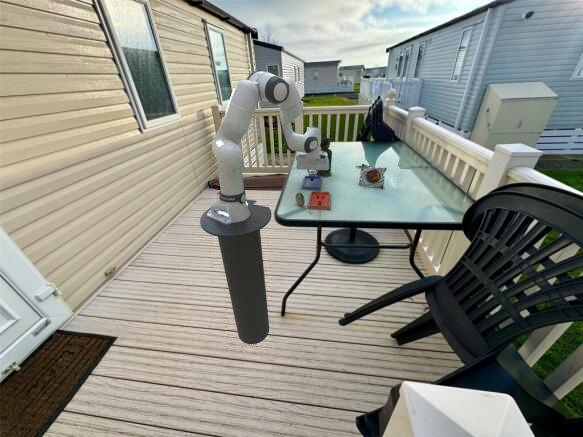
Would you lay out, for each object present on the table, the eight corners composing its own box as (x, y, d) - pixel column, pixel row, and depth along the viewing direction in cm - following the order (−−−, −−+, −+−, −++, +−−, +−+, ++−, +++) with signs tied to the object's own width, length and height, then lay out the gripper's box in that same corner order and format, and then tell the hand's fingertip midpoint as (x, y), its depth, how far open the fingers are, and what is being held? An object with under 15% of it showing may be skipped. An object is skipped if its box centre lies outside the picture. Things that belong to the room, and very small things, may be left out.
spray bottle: (313, 175, 172) (315, 139, 159) (318, 170, 180) (320, 135, 167) (327, 177, 168) (330, 140, 155) (332, 172, 176) (335, 137, 163)
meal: (383, 186, 155) (387, 166, 148) (382, 189, 151) (386, 168, 144) (359, 183, 159) (362, 163, 153) (358, 185, 156) (361, 166, 149)
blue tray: (320, 190, 151) (320, 187, 150) (302, 189, 152) (302, 186, 151) (321, 178, 166) (321, 176, 165) (304, 178, 168) (304, 175, 167)
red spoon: (323, 206, 132) (324, 201, 130) (315, 205, 133) (315, 200, 131) (324, 195, 143) (324, 190, 141) (316, 195, 144) (317, 190, 142)
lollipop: (308, 218, 129) (294, 199, 137) (310, 217, 129) (296, 199, 138) (311, 208, 124) (296, 190, 132) (313, 207, 124) (298, 189, 133)
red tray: (329, 209, 130) (330, 206, 129) (308, 208, 131) (308, 205, 130) (329, 194, 145) (330, 191, 144) (311, 194, 147) (311, 191, 146)
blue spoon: (315, 181, 151) (315, 176, 150) (308, 181, 152) (308, 176, 150) (316, 173, 162) (316, 169, 161) (309, 173, 163) (309, 168, 161)
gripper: (295, 155, 146) (295, 177, 153) (329, 156, 143) (328, 178, 151) (296, 152, 151) (296, 173, 158) (329, 153, 149) (328, 174, 156)
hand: (312, 175), depth 154 cm, fingers closed on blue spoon, 2 cm apart
